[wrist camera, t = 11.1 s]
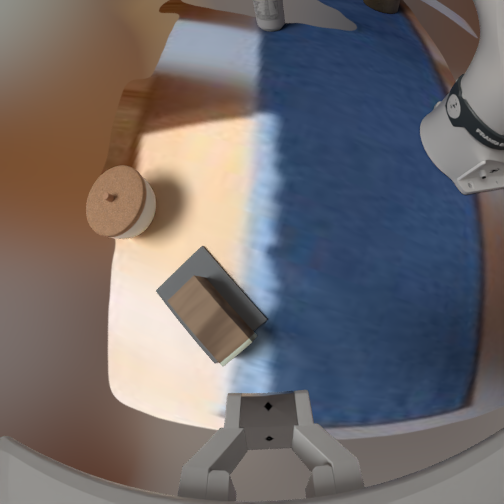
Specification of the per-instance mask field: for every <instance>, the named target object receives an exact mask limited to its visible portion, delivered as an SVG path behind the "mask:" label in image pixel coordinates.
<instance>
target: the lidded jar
mask: <svg viewBox="0 0 504 504" xmlns="http://www.w3.org/2000/svg"><path fill="white" fill-rule="evenodd" d="M155 211H156V199H155V194H154V191H153V190H152V188H151V186H150V184H149V183H148V182H147V181H146V180H145V178H144V177H142V176H141V175H140V173H139V172H137V171H136V170H135V169H134V168H132V167H129V166H116V167H113V168H111V169H109V170H107V171H106V172H105V173H103V174H102V175H101V176H100V177H99V178H98V179H97V181H96V182H95V184H94V185H93V187H92V188H91V190H90V193H89V195H88V199H87V204H86V215H87V219H88V222H89V225H90V226H91V228H92V229H93V230H94V231H95V232H96V233H98V234H100V235H102V236H105V237H111V238H115V239H129V238H133V237H135V236H138V235H139V234H141V233H142V232H143V231H145V230H146V229H147V227H148V226H149V225H150V223H151V222H152V220H153V217H154V215H155Z"/></svg>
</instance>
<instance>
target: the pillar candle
mask: <svg viewBox="0 0 504 504" xmlns="http://www.w3.org/2000/svg"><path fill="white" fill-rule="evenodd" d="M363 1H364V3H365V4H366V5H367V6H369V7H370V8H373V9H375V10H377V11H379V12H383V13H389V14H394V13H396V12H397V11H398V7H399V3H400V0H363Z"/></svg>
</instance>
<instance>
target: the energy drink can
mask: <svg viewBox="0 0 504 504" xmlns="http://www.w3.org/2000/svg"><path fill="white" fill-rule="evenodd" d="M253 3H254V8H255V14H256V19H257V24H258V26H259V27H260V28H261V29H263V30H265V31H276V30H279V29H281V28H282V26H283V25H284V24H285V20H284V10H283V1H282V0H253Z"/></svg>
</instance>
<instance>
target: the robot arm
mask: <svg viewBox="0 0 504 504" xmlns="http://www.w3.org/2000/svg"><path fill="white" fill-rule="evenodd" d="M473 1H474V4H475V6H476V9H477V13H478V17H479V22H480V41H479V45H478V48H477V51H476V53H475V56H474V58H473V60H472V62H471V64H470V66H469V68H468V69H467V71H466V73H465V74H462V75H461V76H460V77H459V78H458V79H457V81H456V83H455V84H454V86H453V87H452V89H451V91H450V93H449V94H448V95H447V96H446V97H445V98H444V99H443V100H442V101H441V102H438V103H437V104H436V105H435V107H434V110H433V111H432V112H431V113H429V114H428V115H427V116H425V117H424V119H423V120H422V122H421V126H420V135H421V140H422V143H423V146H424V148H425V150H426V152H427V154H428V156H429V157H430V159H431V160H432V161H433V163H434V164H435V165H436V166H437V167H438V168H439V169H440V170H441V171H442V172H443V173H444V174H446V175H447V176H448V177H449V178H450V179H451V180H452V181H453V182H454V183H455V185H456V186H457V188H458V189H459V191H460V192H461V193H462V194H465V195H467V194H473V193H478V192H484V191H490V190H496V189H502V188H504V0H473ZM468 185H469V186H470V187H469V186H468ZM269 447H270V449H278V448H280V449H281V448H292V450H293V451H294V452H295V454H296V455H297V456H298V457H299V458H300V459H301V461H302V462H303V463H304V464H305V465H306V466H307V468H308V469H309V470H310V471H311V472H312V473H311V476H310V478H309V481H308V483H307V486H306V489H305V492H306V498H304V499H295V500H282V501H260V502H259V501H258V502H242V501H241V502H240V501H236V490H235V488H234V485H233V483H232V480H231V477H230V474H231V473H232V472H233V470H234V469H235V468H236V466H237V465H238V464H239V462H240V461H241V459H242V458H243V457H244V455H245V454H246V453H247V450H257V449H269ZM0 504H504V428H503V429H501V430H499V431H498V432H496V433H495V434H493V435H491V436H490V437H488V438H486V439H485V440H483V441H481V442H479V443H478V444H476V445H474V446H472V447H470V448H468V449H467V450H465V451H463V452H461V453H459V454H457V455H455V456H453V457H450V458H448V459H446V460H444V461H442V462H439V463H437V464H435V465H432V466H430V467H428V468H425V469H422V470H420V471H417V472H415V473H412V474H409V475H406V476H403V477H401V478H397V479H394V480H391V481H388V482H384V483H381V484H377V485H373V486H370V487H364V483H363V479H362V474H361V470H360V466H359V462H358V458H356V457H355V456H354V455H353V454H352V453H351V452H349V451H348V450H347V449H346V448H345V447H344V446H342V445H341V444H340V443H339V442H338V441H337V440H336V439H334V438H333V437H332V436H331V435H330V434H329V433H328V432H327V431H326V430H324V429H323V428H322V427H321V426H320V425H319V424H318V423H317V424H314V421H313V416H312V410H311V404H310V399H309V393H308V391H307V390H300V391H284V392H271V393H228V395H227V402H226V412H225V423H224V428H220V429H219V430H218V431H217V432H216V433H215V434H214V435H213V436H212V437H211V438H210V439H209V440H208V441H207V443H205V445H204V446H203V447H202V448H201V449H200V450H199V451H198V452H197V453H196V454H195V455H194V456H193V457H192V458H191V459H190V460H189V461H188V462H187V463H186V464H185V465H184V466H183V468H182V473H181V479H180V485H179V491H178V496H173V495H167V494H161V493H155V492H151V491H146V490H142V489H138V488H133V487H129V486H125V485H122V484H118V483H115V482H112V481H108V480H105V479H102V478H99V477H96V476H93V475H90V474H87V473H85V472H82V471H79V470H77V469H74V468H72V467H69V466H67V465H64V464H62V463H60V462H57V461H55V460H53V459H51V458H49V457H47V456H45V455H42V454H40V453H38V452H37V451H35V450H32V449H31V448H29V447H27V446H25V445H23V444H22V443H20V442H18V441H16V440H15V439H13V438H11V437H9V436H3V437H0Z"/></svg>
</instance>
